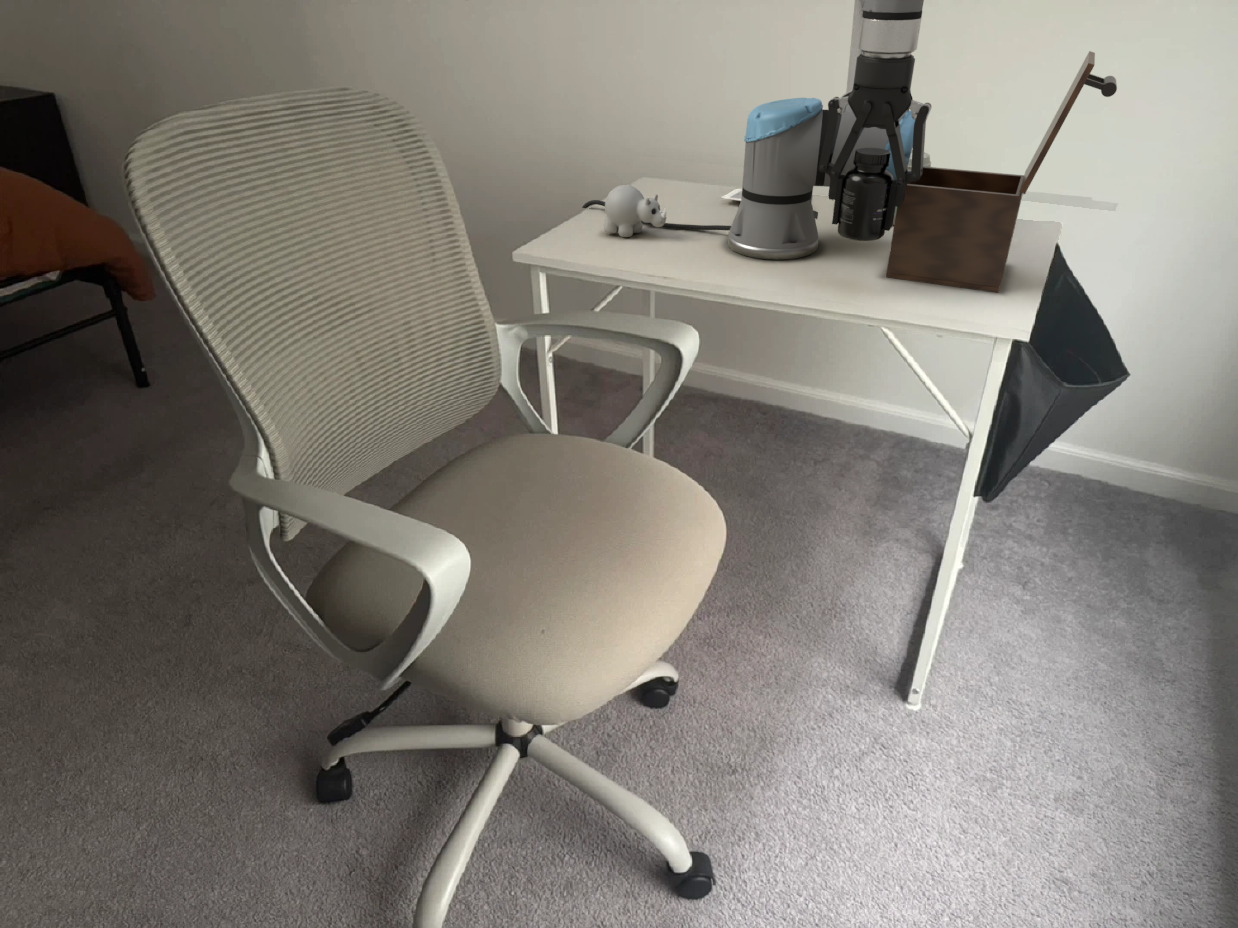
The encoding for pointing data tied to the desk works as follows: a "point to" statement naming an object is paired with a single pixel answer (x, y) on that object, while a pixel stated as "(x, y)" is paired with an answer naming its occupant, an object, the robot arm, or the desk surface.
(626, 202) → the toy rhinoceros
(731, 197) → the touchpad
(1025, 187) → the box lid
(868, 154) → the supplement bottle
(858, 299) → the desk surface
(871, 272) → the desk surface
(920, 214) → the storage box
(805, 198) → the robot arm
